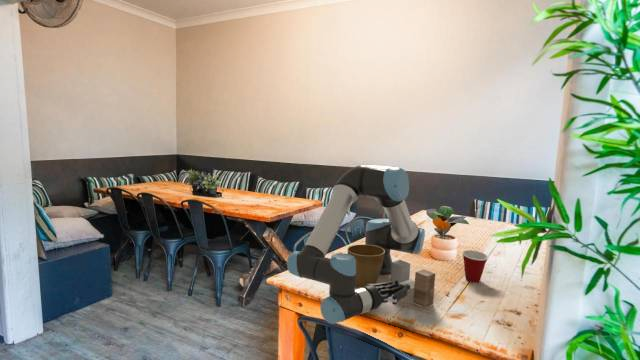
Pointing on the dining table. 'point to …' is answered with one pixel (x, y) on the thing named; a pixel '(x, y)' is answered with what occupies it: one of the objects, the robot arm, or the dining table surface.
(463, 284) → the dining table surface
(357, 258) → the plant pot
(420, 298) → the walnut block
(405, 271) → the grey block
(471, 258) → the plastic cup
